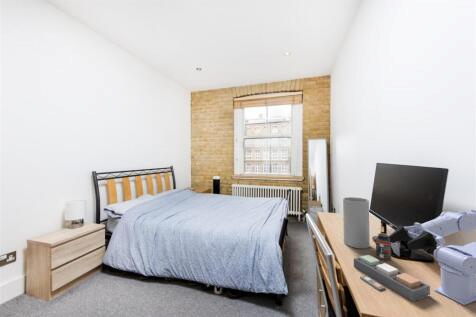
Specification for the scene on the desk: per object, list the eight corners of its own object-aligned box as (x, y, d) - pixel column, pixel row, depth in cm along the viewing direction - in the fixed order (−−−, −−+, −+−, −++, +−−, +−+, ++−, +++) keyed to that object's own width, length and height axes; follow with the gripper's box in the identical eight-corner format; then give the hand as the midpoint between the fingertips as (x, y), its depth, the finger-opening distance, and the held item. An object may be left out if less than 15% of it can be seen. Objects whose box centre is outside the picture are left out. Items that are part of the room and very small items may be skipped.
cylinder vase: (367, 241, 116) (366, 198, 116) (371, 250, 104) (370, 202, 104) (343, 238, 121) (342, 196, 121) (344, 246, 110) (343, 201, 109)
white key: (385, 270, 84) (385, 263, 84) (398, 277, 79) (398, 269, 79) (376, 272, 82) (376, 265, 82) (389, 279, 78) (388, 271, 78)
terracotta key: (405, 280, 77) (405, 272, 77) (420, 288, 72) (420, 280, 72) (395, 283, 75) (395, 275, 75) (410, 292, 70) (410, 283, 70)
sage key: (368, 261, 91) (368, 254, 91) (379, 267, 86) (379, 260, 86) (360, 263, 89) (360, 256, 89) (370, 269, 85) (370, 262, 85)
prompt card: (365, 276, 83) (365, 275, 83) (385, 289, 75) (385, 287, 75) (360, 278, 82) (360, 276, 82) (379, 290, 74) (379, 289, 74)
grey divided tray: (368, 262, 93) (368, 255, 93) (429, 295, 71) (429, 286, 71) (353, 266, 91) (353, 258, 91) (413, 301, 68) (413, 291, 68)
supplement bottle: (384, 262, 94) (384, 237, 93) (372, 255, 99) (372, 233, 99) (394, 259, 95) (394, 236, 95) (382, 254, 101) (381, 231, 101)
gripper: (410, 215, 78) (378, 226, 76) (451, 223, 63) (413, 237, 62) (417, 233, 77) (385, 244, 76) (460, 245, 62) (422, 260, 61)
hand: (398, 242), depth 69 cm, fingers open, 7 cm apart
